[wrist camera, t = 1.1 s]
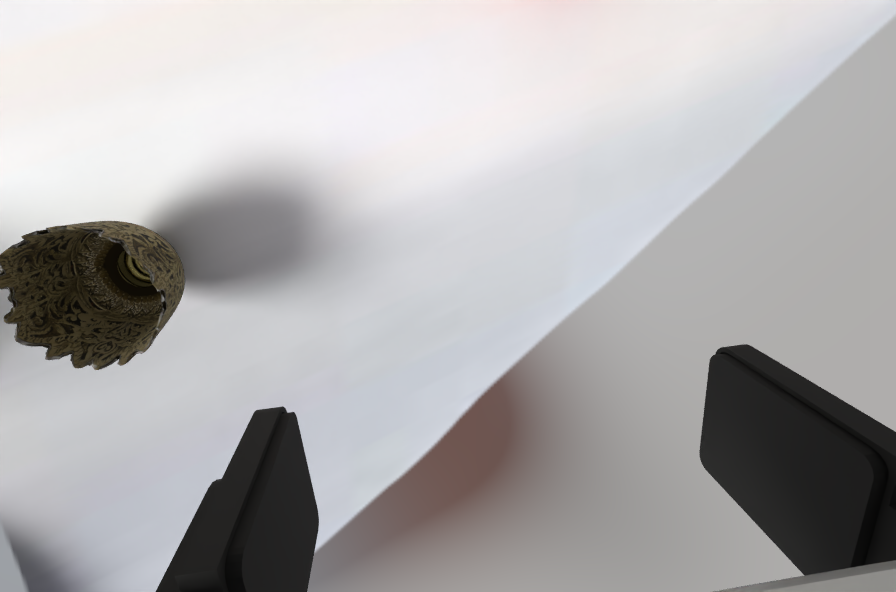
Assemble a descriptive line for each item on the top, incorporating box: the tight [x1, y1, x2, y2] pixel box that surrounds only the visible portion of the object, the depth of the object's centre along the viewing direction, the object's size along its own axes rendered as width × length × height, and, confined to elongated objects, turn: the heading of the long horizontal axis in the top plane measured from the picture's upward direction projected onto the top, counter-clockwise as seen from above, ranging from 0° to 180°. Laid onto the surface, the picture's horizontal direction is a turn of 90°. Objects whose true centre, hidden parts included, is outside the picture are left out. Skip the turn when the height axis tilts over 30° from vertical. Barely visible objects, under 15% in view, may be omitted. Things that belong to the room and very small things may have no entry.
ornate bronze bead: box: [0, 221, 185, 370], centre depth 27 cm, size 8×7×8 cm
